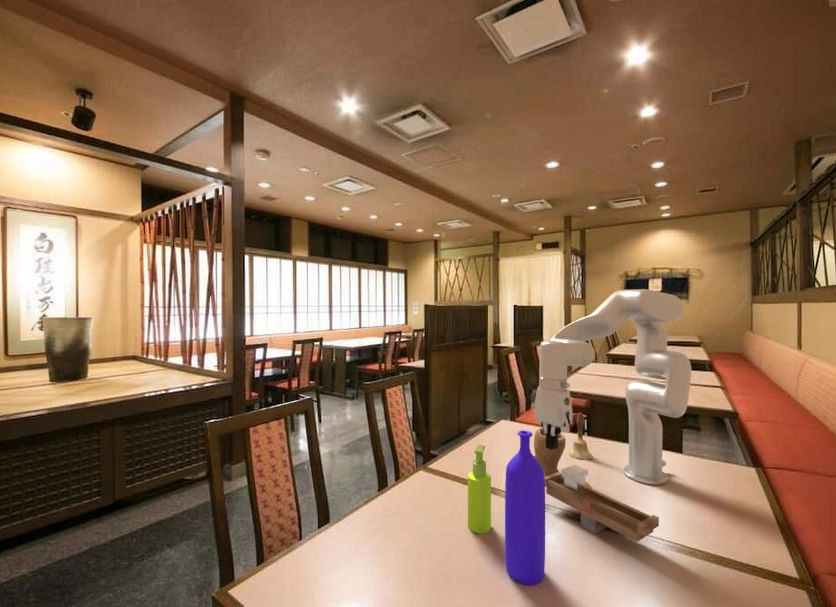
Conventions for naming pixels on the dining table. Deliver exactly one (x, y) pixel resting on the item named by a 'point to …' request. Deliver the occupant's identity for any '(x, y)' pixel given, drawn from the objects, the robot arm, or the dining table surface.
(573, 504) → the beam
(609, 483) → the dining table surface
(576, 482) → the rider
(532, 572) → the bottle
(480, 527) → the soap dispenser
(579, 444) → the hand bell
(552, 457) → the stone cup
